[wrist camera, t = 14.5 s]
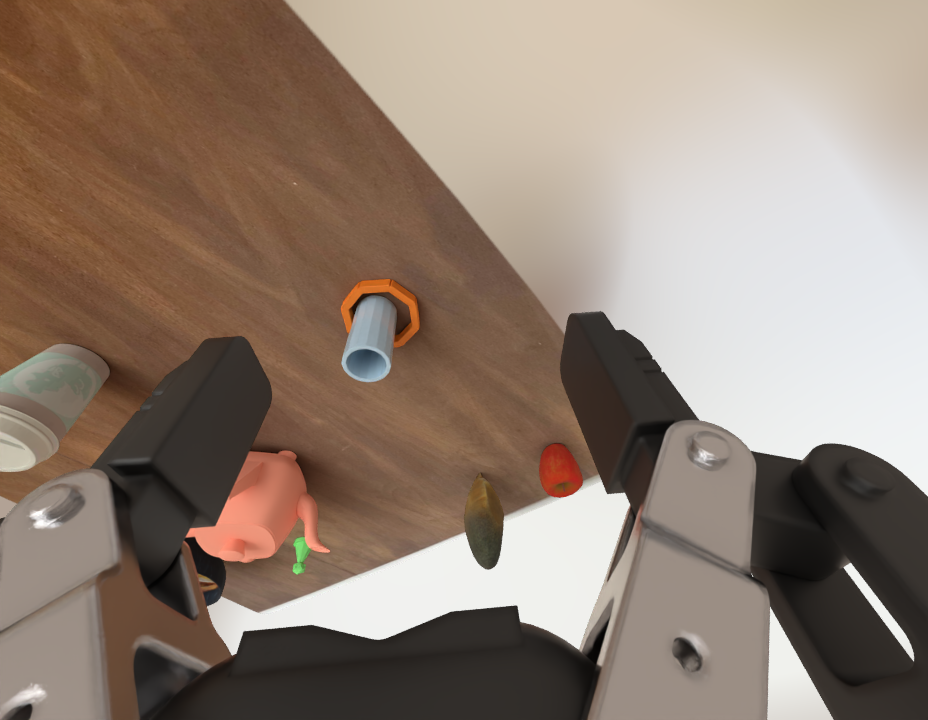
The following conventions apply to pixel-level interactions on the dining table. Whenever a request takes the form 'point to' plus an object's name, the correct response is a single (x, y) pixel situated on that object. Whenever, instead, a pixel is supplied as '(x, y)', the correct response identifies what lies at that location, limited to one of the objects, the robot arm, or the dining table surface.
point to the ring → (395, 290)
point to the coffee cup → (45, 402)
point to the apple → (559, 471)
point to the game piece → (300, 554)
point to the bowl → (208, 571)
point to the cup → (371, 340)
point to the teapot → (262, 510)
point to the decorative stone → (484, 523)
